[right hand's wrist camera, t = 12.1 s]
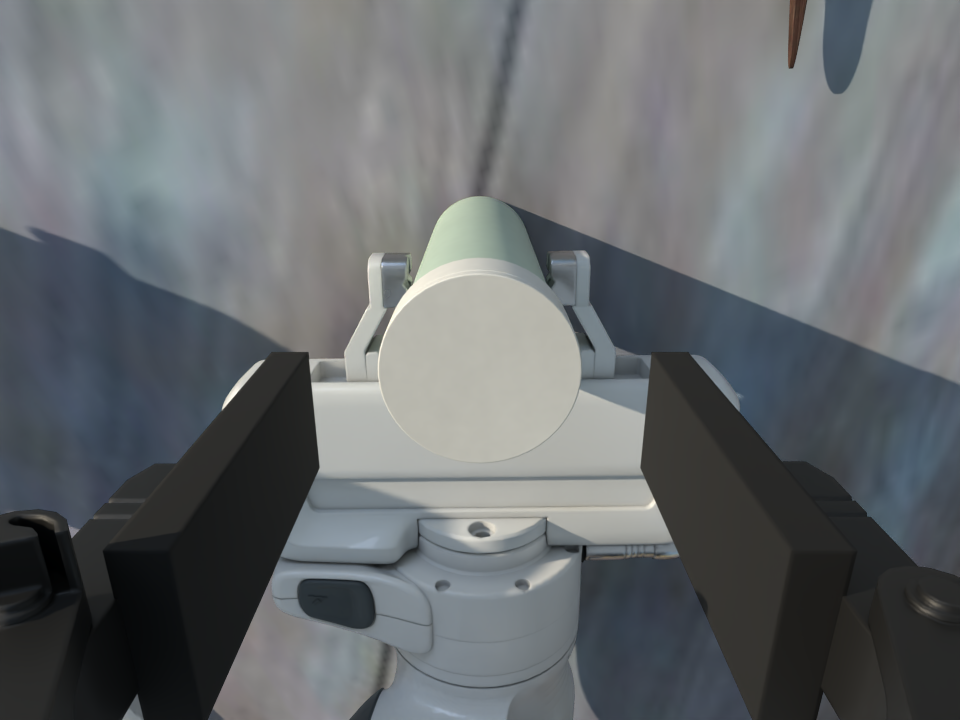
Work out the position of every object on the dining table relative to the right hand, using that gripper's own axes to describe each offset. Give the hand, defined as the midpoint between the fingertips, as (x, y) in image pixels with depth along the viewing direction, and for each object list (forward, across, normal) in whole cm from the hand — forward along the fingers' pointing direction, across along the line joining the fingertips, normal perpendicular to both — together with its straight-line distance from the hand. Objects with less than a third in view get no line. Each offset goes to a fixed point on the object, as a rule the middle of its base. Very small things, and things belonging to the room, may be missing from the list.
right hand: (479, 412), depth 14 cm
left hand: (+12, 0, -1) cm, 12 cm away
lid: (+3, 0, 0) cm, 3 cm away
